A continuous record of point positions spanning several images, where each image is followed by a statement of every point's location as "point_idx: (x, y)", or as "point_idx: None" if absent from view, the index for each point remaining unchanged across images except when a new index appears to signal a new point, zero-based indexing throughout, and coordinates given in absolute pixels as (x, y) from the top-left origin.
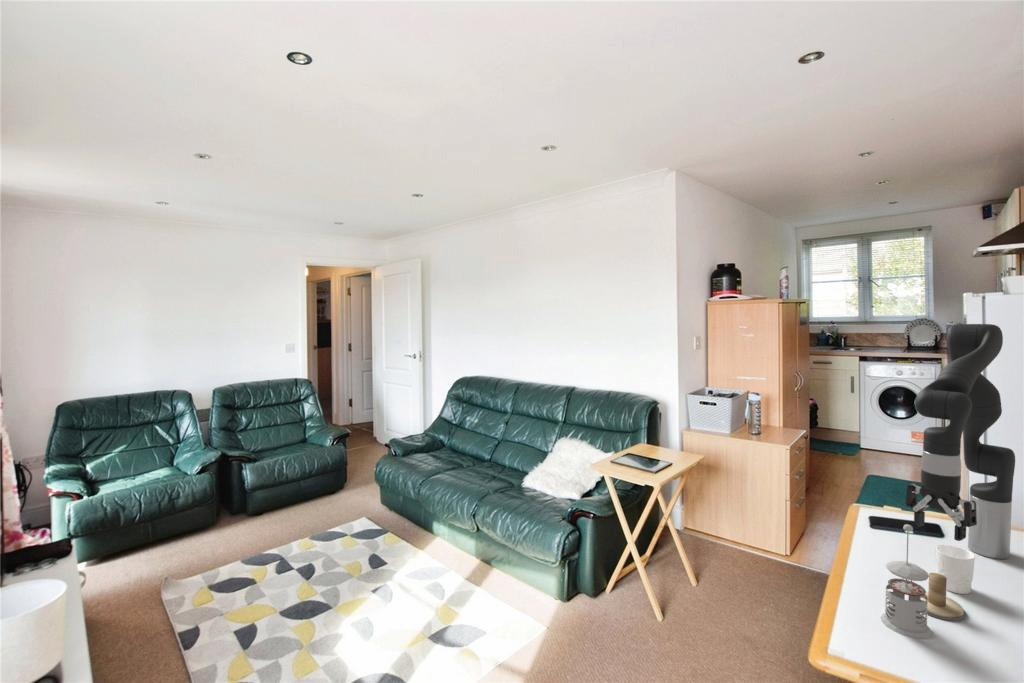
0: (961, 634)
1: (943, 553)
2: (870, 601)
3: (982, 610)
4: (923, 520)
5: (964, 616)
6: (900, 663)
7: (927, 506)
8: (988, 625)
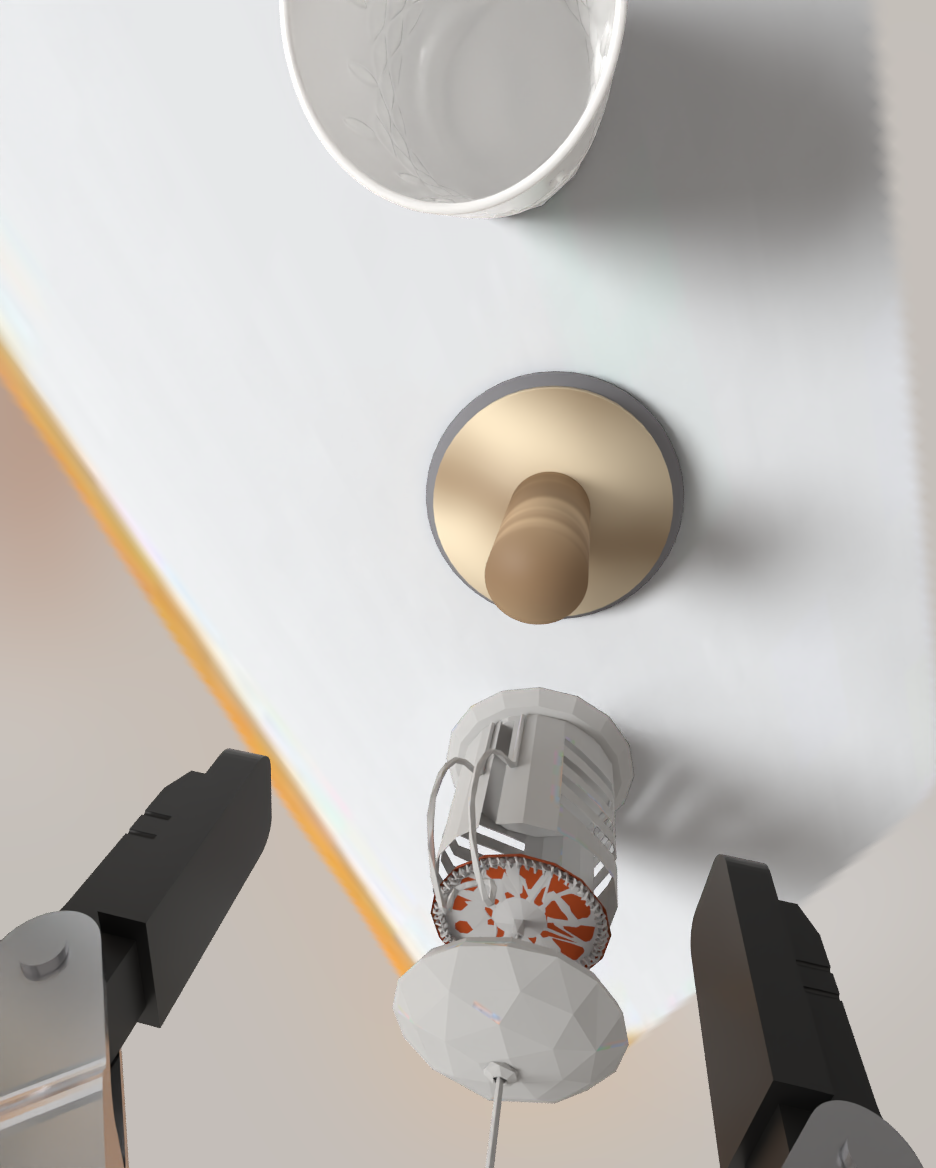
0: (715, 660)
1: (409, 202)
2: (364, 704)
3: (721, 297)
4: (231, 821)
5: (680, 496)
6: (634, 981)
7: (108, 1084)
8: (786, 461)
